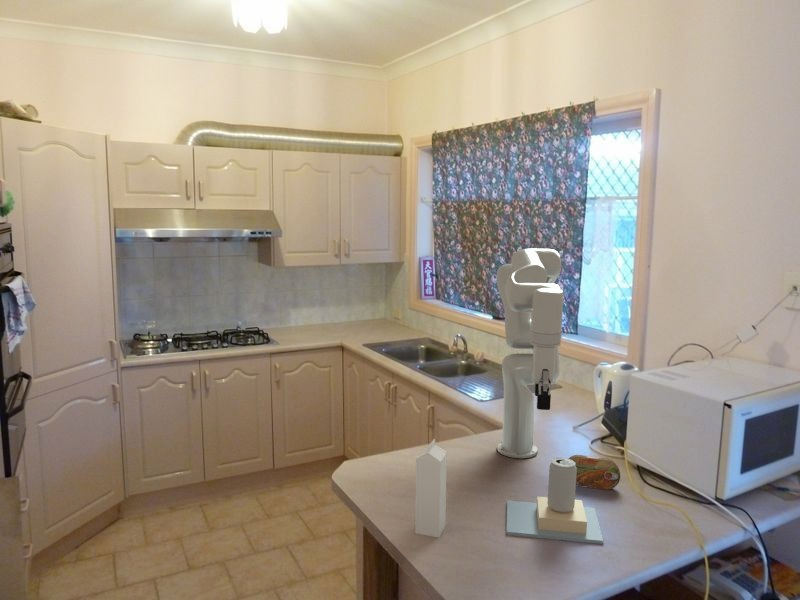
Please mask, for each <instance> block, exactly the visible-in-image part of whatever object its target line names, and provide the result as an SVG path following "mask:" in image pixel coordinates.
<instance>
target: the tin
mask: <svg viewBox="0 0 800 600" xmlns="http://www.w3.org/2000/svg"><path fill="white" fill-rule="evenodd" d="M568 459H571V460H573V461H574V462H575V466H576V468H577V474H576V485H578V486H577V487H582V486H587V487H586V488H589V487H592V488H591V489H596V488H597V490H602V491H603V490H604V491H608V490H613V489H614V488H616V487H617V486H618V484H619V483H620V481H621V471H620V468H619V466H618V465H617V463H616V462H615V461H613V460H612V459H610V458H606V457H598V456H592V455H591V456H590V455H583V454H574V455H572V456H570V457H568Z"/></svg>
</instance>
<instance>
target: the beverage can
mask: <svg viewBox="0 0 800 600" xmlns="http://www.w3.org/2000/svg"><path fill="white" fill-rule="evenodd" d="M548 471H549V472H548V473H549V474H548V486H547V487H548V490H547V497H548V506H549V507H550V508H551V509H552V510H554V511H556V512H560V513H568V512H570V511H571V510H573V509H574V504H575V500H576V490H577V489H576V487H577V486H576V474H577V468H576V466H575V462H574V461H573V460H571V459H569V457H553V458H552V459H551V463H550V464H549V469H548Z"/></svg>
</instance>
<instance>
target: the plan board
mask: <svg viewBox="0 0 800 600" xmlns="http://www.w3.org/2000/svg"><path fill="white" fill-rule="evenodd" d="M602 534H603V533H602V530H601V527H600V523H599V519H598V516H597V512H596V509H595V507H587V506H584V504H583V499H575V504H574V509H573V510H571V511H570V512H568V513H560V512H556V511H554V510H552V509H551V508H550V507H549V506H548V496H537V497H536V502H533V501H531V502H530V501H517V500H508V499H507V500H506V535H507V536H515V537H517V536H518V537H525V538H526V537H527V538H534V539H535V538H537V539H545V540H546V539H547V540H548V539H549V540H557V541H559V540H560V541H565V542H567V541H568V542H577V543H578V542H579V543H588V544H599V545H604V538H603V535H602Z"/></svg>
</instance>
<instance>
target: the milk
mask: <svg viewBox="0 0 800 600" xmlns="http://www.w3.org/2000/svg"><path fill="white" fill-rule="evenodd" d="M447 453H448V452H447V451H446V450H444V449H443V448H441V447H440V446H439V445H437V444H436V438H433V439H432V441H431V442H430V444H429V445H428V446H427V447H425V448H423V449H422V450H421V451H420V452H419V454H418V455H417V457H416V458H415V520H414V521H415V525H414V526H415V528H414V529H415V530H414V531H415V534H416V535H421V536H427V537H433V538H438V539H440V538H441V535H442V533H443V531H444V530H445V527H446V516H447V515H446V514H447V513H446V512H447V509H446V508H447V462H448V461H447V458H448V457H447V456H448V455H447Z"/></svg>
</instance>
